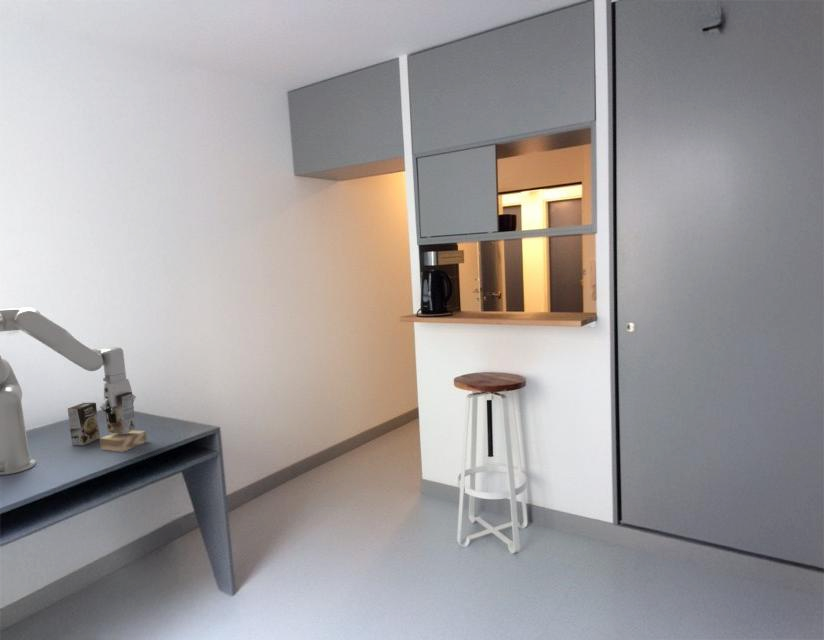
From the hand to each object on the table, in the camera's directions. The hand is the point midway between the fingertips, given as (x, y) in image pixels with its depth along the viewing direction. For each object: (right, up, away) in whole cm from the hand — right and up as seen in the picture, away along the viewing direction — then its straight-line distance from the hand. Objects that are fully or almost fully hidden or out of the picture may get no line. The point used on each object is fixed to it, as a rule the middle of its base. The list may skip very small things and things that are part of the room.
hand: (120, 419), depth 220 cm
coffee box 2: (0, -5, +1) cm, 5 cm away
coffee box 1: (-19, -11, +8) cm, 24 cm away
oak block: (+1, -12, +2) cm, 12 cm away
